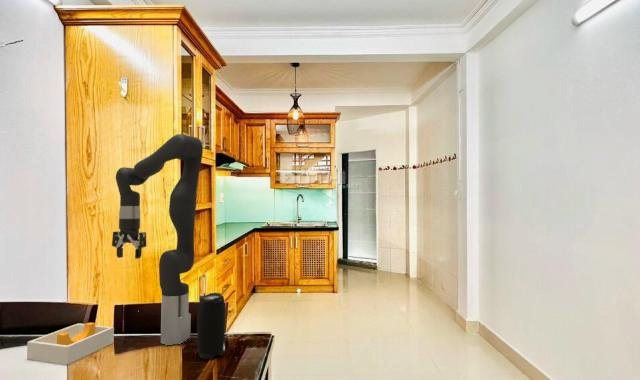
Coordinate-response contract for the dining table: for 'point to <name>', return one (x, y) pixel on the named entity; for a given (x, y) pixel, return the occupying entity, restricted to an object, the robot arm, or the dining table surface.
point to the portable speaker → (211, 325)
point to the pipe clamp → (65, 339)
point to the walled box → (64, 354)
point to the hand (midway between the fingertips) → (128, 257)
